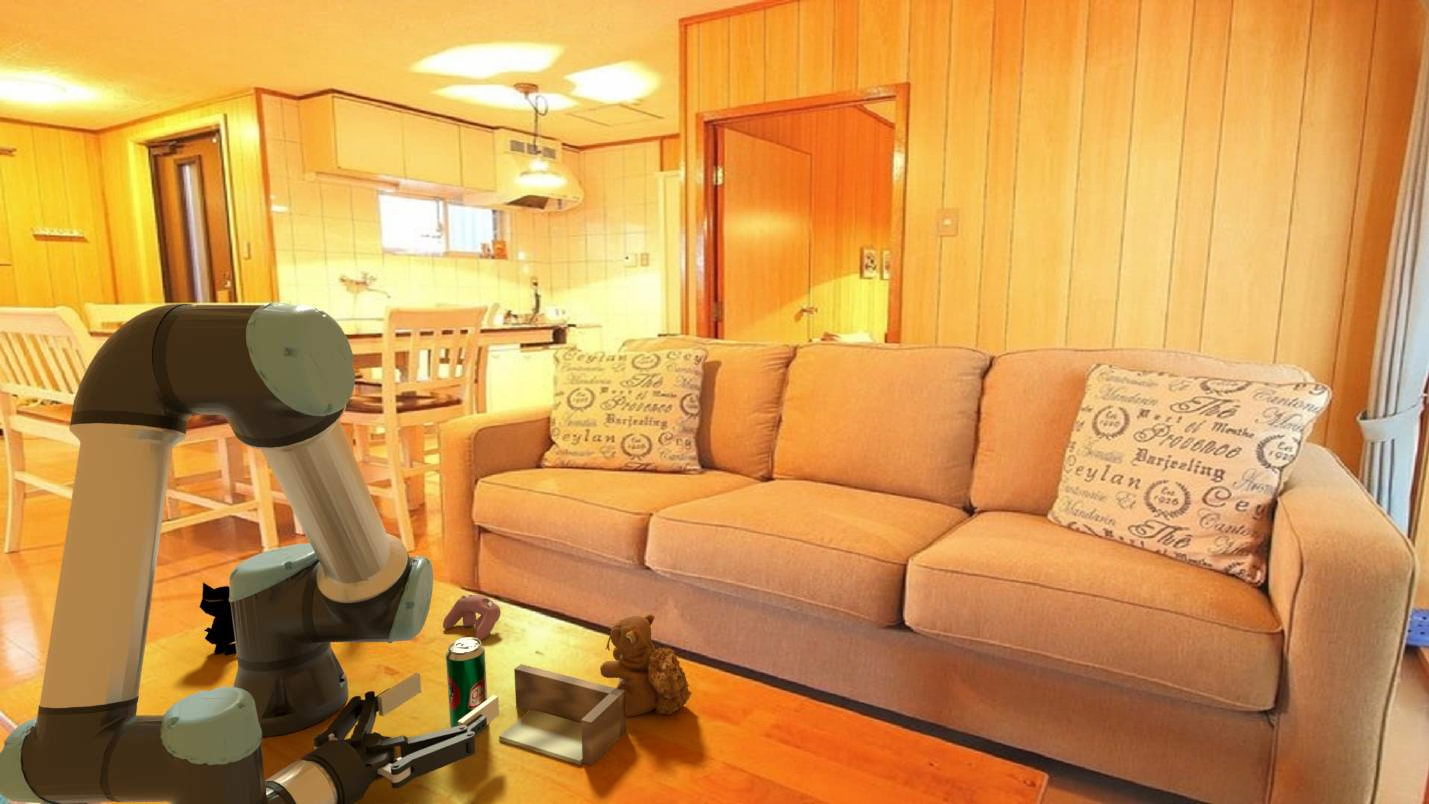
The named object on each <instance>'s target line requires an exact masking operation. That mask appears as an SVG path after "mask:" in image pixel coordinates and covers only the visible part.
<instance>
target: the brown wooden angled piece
mask: <svg viewBox="0 0 1429 804" xmlns="http://www.w3.org/2000/svg"><path fill="white" fill-rule="evenodd" d="M513 670H514V671H513V672H514V689H515V690H514V692H515V708H517V707H518V709H520V708H522V709H521V710H524V709H525V710H524V711H527V710H528V712H526V713H525V714H524V715H523V716H521V718H519V719H518V720H516V721H515V722H514V723H513V724H511V726H509V727H508V728H507V729H506V730H504V731H503V732H502V733H501V734H500V735H498V740H499V741H501V740H502V741H501V742H505V743H507V744H510V743H511V744H510V745H514V746H517V747H520V746H521V747H520V748H523V749H526V748H528V749H527V750H530V751H533V752H536V751H538V752H537V753H539V752H540V754H543V755H545V756H549V757H552V758H556V759H559V760H561V761H562V760H563V761H565V762H568V763H571V764H576V765H578V766H581V765H582V764H586V765H589V766H591V767H593V766H594V765H595V764H596V763H597V762H598V761H599V760H600V759H601V758H602V756H603V755H605V753H607V751H608V750H610V748H612V746H613V745H614V744H615V743H616V742H617V741H618V740H619V739H620V738H621V737H622V736H623V735H624V734H625V733H626V732H627V729H626V726H627V725H626V722H627V721H626V719H627V717H625V691H624V690H621V689H617V687H612V686H608V685H605V684H600V683H596V682H592V681H589V680H585V679H582V678H576V677H574V676H570V675H566V674H561V673H558V672H555V671H549V670H546V669H542V668H538V667H534V666H530V665H527V664H524V663H523V664H522V663H520V664H519V665H517V666H516V667H515V668H514V669H513Z"/></svg>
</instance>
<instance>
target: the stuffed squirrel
mask: <svg viewBox="0 0 1429 804" xmlns="http://www.w3.org/2000/svg"><path fill="white" fill-rule="evenodd" d="M654 620H655V615H654V614H652V613H650V614H646V615H645V616H640V615H634V616H633V615H632V616H628V617H624V618H622V619H620V620H618V621H617V622H615V623H614V624H613V625H612V627H611V630H610V635H609V636H608V640H607V644H606V648H605V650H607V651H610V643H612V645H613V646H614V648H613V651H612V657H613V658H614V660H607V661H604V662H603V663H602V664H601V665H600V667H599V670H600V674H601V676H602V677H603V678H606V679H619V680H618V683H617V686H616V688H617V689H621V690H624V691H625V718H629V717H630V718H631V717H635V716H641V715H644V714H646V713H648V712H649V713H650V712H652V711H653V710H654V712H655V713H656V714H659V715H671V714H672V713H675V712H676V711H678V710H679V709H681V708H683V707H684V705H686V704H687V702H688V700H689V699H690V698H691V695H692V694H693V693H692V691H690V690H689V685H690V684H688V681H687V677H686V673H685V672H684V671H683V670H684V668H682V667H681V665H680V661H679V660H678V657H677V656H676V654H675V651H674V650H673V649H671V648H670V647H664V648H662V647H658V648H655V645H654V643H653V641H652V628H651V626H652V624H653V623H654Z"/></svg>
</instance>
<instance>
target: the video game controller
mask: <svg viewBox="0 0 1429 804" xmlns="http://www.w3.org/2000/svg"><path fill="white" fill-rule="evenodd" d="M501 611H502V610H501V608H500V606H499V605H498V604H496V603H495V602H494V601H493V600H492V599H490V598H488V597H487V596H484V595H481V594H466V595H461V597H460V598H458V599H457V600H456V601H455V603H454V604H453V606H452V608H450V611H449V612H448V613H447V614H446V616H445V617H444V619H443V622H442V628H443V629H444V630H449V629H451V628H453V627H454V626H455V625H457V623H458V622H459V621H461V619H462V625H463V626H465V627H471V628H472V627H473V626H474V627H475V629H476V633H475V638H476V639H479V640H480V641H481V642H482V640H484V639H486V638H487V637H488V636H489V635H490V633H491V632H492V631H493V630H494V627H495V625H496V623H497V622H498V621H499V619H500V617H501V614H502V613H501ZM477 614H478V615H480V616H479V617H477Z"/></svg>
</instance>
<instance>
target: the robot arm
mask: <svg viewBox="0 0 1429 804" xmlns="http://www.w3.org/2000/svg"><path fill="white" fill-rule="evenodd" d="M354 362H355V358H354V354H353V350H352V346H351V343H350V342H349V339H348V337H347V335H346V334H345V331H344V330H343V328H342V327H341V325H340V324H339V323H338V321H336V319H334V317H332V316H331V315H330V314H328V313H327V312H325V311H324V310H322V309H320V308H316V307H314V306H310V305H302V304H289V303H286V302H267V303H263V304H191V303H173V304H164V305H161V306H155V307H153V308H151V309H148V310H146V311H143V312H141V313H139V314H137V315H135V316H134V317H132V318H131V319H129V320H128V321H126V322H125V323H122V325H120V326H119V328H117V329H116V331H114V332H113V333H112V334H111V335H110V336H109V337H108V338H107V339H106V340H105V342H104V343H103V344H102V345H101V347H100V348H99V349H98V350H97V352H96V353H95V355H94V357H93V358H92V360H91V361H90V363H89V365H88V367H87V368H86V371H85V372H84V374H83V377H82V378H81V381H80V383H79V385H78V388H77V392H76V394H75V397H74V399H73V403H72V410H71V415H70V422H69V426H68V430H69V432H70V433H71V434H72V435H73V436H75V438H76V439H78V440H79V450H78V456H77V461H76V462H77V463H76V468H75V475H74V482H73V489H72V495H71V501H70V508H69V514H68V519H67V520H68V521H67V526H66V533H65V538H64V539H65V541H64V547H63V552H62V559H61V565H60V570H59V571H60V572H59V577H58V584H57V591H56V597H55V603H54V611H53V616H52V623H51V629H50V636H49V641H48V642H49V643H48V649H47V654H46V661H45V668H44V674H43V680H42V681H43V682H42V688H41V694H40V700H39V705H38V708H37V709H38V710H37V714H36V715H37V716H36V717H34V718H31V719H28V720H26V721H24V722H22V723H21V724H19V725H18V726H16V727H15V728H14V729H13V730H12V731H11V732H10V733H9V735H8V736H6V738H5V740H4V741H3V742H4V743H3V745H4V746H3V748H2V749H1V751H0V795H1V796H2V797H3V798H5V799H7V800H9V801H11V802H17V803H30V804H31V803H34V804H90V803H91V804H93V803H164V802H165V803H170V804H357V803H358V802H359V801H361V800H362V798H363V797H364V796H365V795H366V793H367V791H368V790H369V787H370V786H371V785H372V784H373V783H374V782H377V781H378V780H382V779H383V778H387V779H389V780H390V781H391V788H392V789H400V788H402V787H403V786H405V785H407V784H408V783H410V782H411V781H412V780H414V779H417V778H419V777H422V776H423V775H427V774H429V773H431V772H434V771H437V770H439V769H442V768H444V767H446V766H449V765H452V764H455V763H456V762H459V761H461V760H463V759H464V760H465V759H467V758H469V757H471V756H474V755H475V754H476V753H477V748H476V747H477V745H476V737H477V736H479V734H481V733H482V732H483V731H484V730H486V729H487V727H488V724H489V725H490V723H492V721H494V720H495V719H496V718H499V716H500V706H499V695H495V694H493V695H491V696H490V697H489V698H487V700H486V701H485V702H483V703H482V704H481V705H479V706H478V707H477V708H475V709H474V710H472V711H471V712H470V713H468V714H467V715H466V716H464V717H463V718H462V719H460V720H459V721H458V726H456V727H452V728H451V727H449V728H445V729H440V730H436V731H432V732H429V733H423V734H420V735H415V736H411V737H407V736H406V735H399V736H393V737H390V736H385V735H384V736H383V734H381V733H379V732H376V731H374V732H373V729H374V727H375V726H374V725H375V722H376V719H377V713H378V716H380V717H384V716H386V715H388V714H390V713H391V712H393V711H394V710H396V709H398V707H400V706H402V705H404V704H405V703H406V702H408V701H409V700H411V699H412V698H414V697H416V696H418V695H419V694H420V693H422V685H421V674H420V673H419V672H415V673H413V674H411V675H410V676H408V677H407V678H405V679H402V681H400V682H399V683H397V684H395V685H394V686H391V687H390V688H387V689H385V690H384V691H383V692H380V693H378V694H377V695H376V692H375V691H373V690H371V691H370V690H369V691H366V692H365V693H364V699H362V696H360V695H355V696H353V697H351V698H350V700H349V701H348V702H347V703H346V701H347V700H348V697H349V686H348V685H349V684H348V677H347V676H346V675H347V674H346V673H345V671H344V669H343V668H342V665H341V663H340V661H339V660H338V657H337V655H336V654H335V651H334V650H333V648H332V645H331V643H388V644H392V643H394V642H408V641H411V640H413V639H415V638H416V637H417V636H418V635H419V634H420V633H421V632H422V630H423V628H424V626H425V623H426V620H427V617H428V616H429V615H428V614H429V611H430V607H431V603H432V597H433V588H434V570H433V563H432V562H431V560H430V559H429V558H428V557H426V556H424V557H423V556H421V555H416V556H414V557H413V556H410V555H409V552H408V550H407V548H406V546H405V544H404V543H403V541H402V540H401V539H400V538H398V537H397V536H395V535H392V534H390V533H387V531H386V528H385V526H384V523H383V521H382V518H381V515H380V514H379V512H378V508H377V507H376V504H375V502H374V500H373V497H372V495H371V492H370V490H369V488H368V484H367V482H366V480H365V478H364V475H363V473H362V471H361V467H360V466H359V463H358V462H357V459H356V457H355V454H354V451H353V449H352V447H351V444H350V442H349V439H348V436H347V434H346V432H345V430H344V427H343V424H342V423H341V418H342V417H343V416H344V413H345V412H346V408H347V405H348V404H349V402H350V400H351V397H352V396H353V392H354V389H355V384H356V370H355V369H354V367H353V363H354ZM193 415H194V416H198V415H199V416H201V415H203V416H212V415H213V416H216V415H217V416H218V415H219V416H222V417H224V418H225V419H226V421H227V422H228V424H229V427H230V428H231V430H232V432H233V434H234V436H235V437H236V438H237V440H238V441H239V442H240V443H241V444H243V445H245V446H247V447H249V448H252V449H256V450H261V453H262V454H263V456H264V458H265V460H266V462H267V464H268V465H269V468H270V470H271V472H272V473H273V475H274V477H275V479H276V481H277V483H278V485H279V486H280V489H281V490H282V493H283V495H284V496H285V498H286V500H287V502H288V504H289V506H290V508H291V510H292V512H293V514H294V515H295V517H296V519H297V521H298V524H299V526H300V527H301V529H302V531H303V533H304V535H305V536H306V539H307V540H308V542H309V543H308V542H307V543H295V544H291V545H287V546H286V545H285V546H281V547H277V548H274V549H270V550H267V551H264V552H261V553H257V554H256V555H253V556H251V557H249V558H247V559H245V560H243V561H242V562H240V563H238V564H237V565H236V566H235V567H234V568H233V569H232V571H231V573H230V575H229V581H228V582H229V588H230V597H229V602H230V603H231V611H232V619H233V627H234V636H235V642H234V643H235V644H236V652H237V653H236V658H237V671H236V675H235V679H234V682H233V686H217V687H216V688H214V689H211V690H205V689H204V690H200V691H197V692H195V693H191V694H189V695H187V696H185V697H183V698H181V699H180V700H178V701H176V702H175V703H173V704H172V705H171V706H170V707H169V708H168V709H167V710H166V712H165V714H161V715H160V714H159V715H157V714H155V715H154V714H150V715H149V714H145V715H144V714H143V715H141V714H140V715H139V714H138V715H137V713H138V712H137V711H138V702H139V696H140V695H139V692H140V687H141V686H140V685H141V677H142V671H143V665H144V656H145V651H146V644H147V643H146V642H147V637H148V635H147V634H148V629H149V628H148V627H149V621H150V613H151V607H152V600H153V592H154V585H155V579H156V578H155V577H156V570H157V561H158V554H159V548H160V541H161V532H162V526H163V519H164V518H163V517H164V512H165V503H166V499H167V498H166V496H167V490H168V482H169V474H170V469H171V468H170V466H171V460H172V452H173V449H174V447H175V446H177V445H178V444H179V443H181V442H182V441H184V440H185V439H186V435H187V430H188V429H187V428H188V423H189V419H190V418H191V417H192V416H193ZM345 703H346V705H345ZM343 705H344V707H343ZM342 707H343V708H342ZM341 708H342V709H341ZM340 709H341V711H340V712H339V713H338V715H336V716H335V718H334V719H333V721H332V722H331V723H330V725H329V726H327V728H326V729H325V730H324V731H323V732H321V733H319V734H318V735H317V736H315V737H314V738H313V747H314V748H313V750H312V751H310V752H308V753H307V754H305V755H304V756H303V757H301V758H300V759H298V760H296V761H293V762H292V763H290V764H289V765H287V766H286V767H284V768H282V769H281V770H280V771H278V772H276V773H275V774H273V775H272V776H270V777H269V778H267V779H265V778H266V777H265V766H264V757H263V748H262V747H263V746H262V738H264V737H274V736H280V735H285V734H289V733H294V732H297V731H300V730H303V729H307V728H308V727H311V726H313V725H316V724H319V723H320V722H322V721H324V720H326V719H328V718H329V717H330V716H332V715H333V714H335V713H336V712H338V711H339V710H340ZM352 730H353V732H352V733H351V731H352ZM350 733H351V736H350V738H347V737H348V735H349V734H350ZM397 747H399V751H400V757H398V758H396V755H397ZM395 758H396V759H395Z"/></svg>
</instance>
